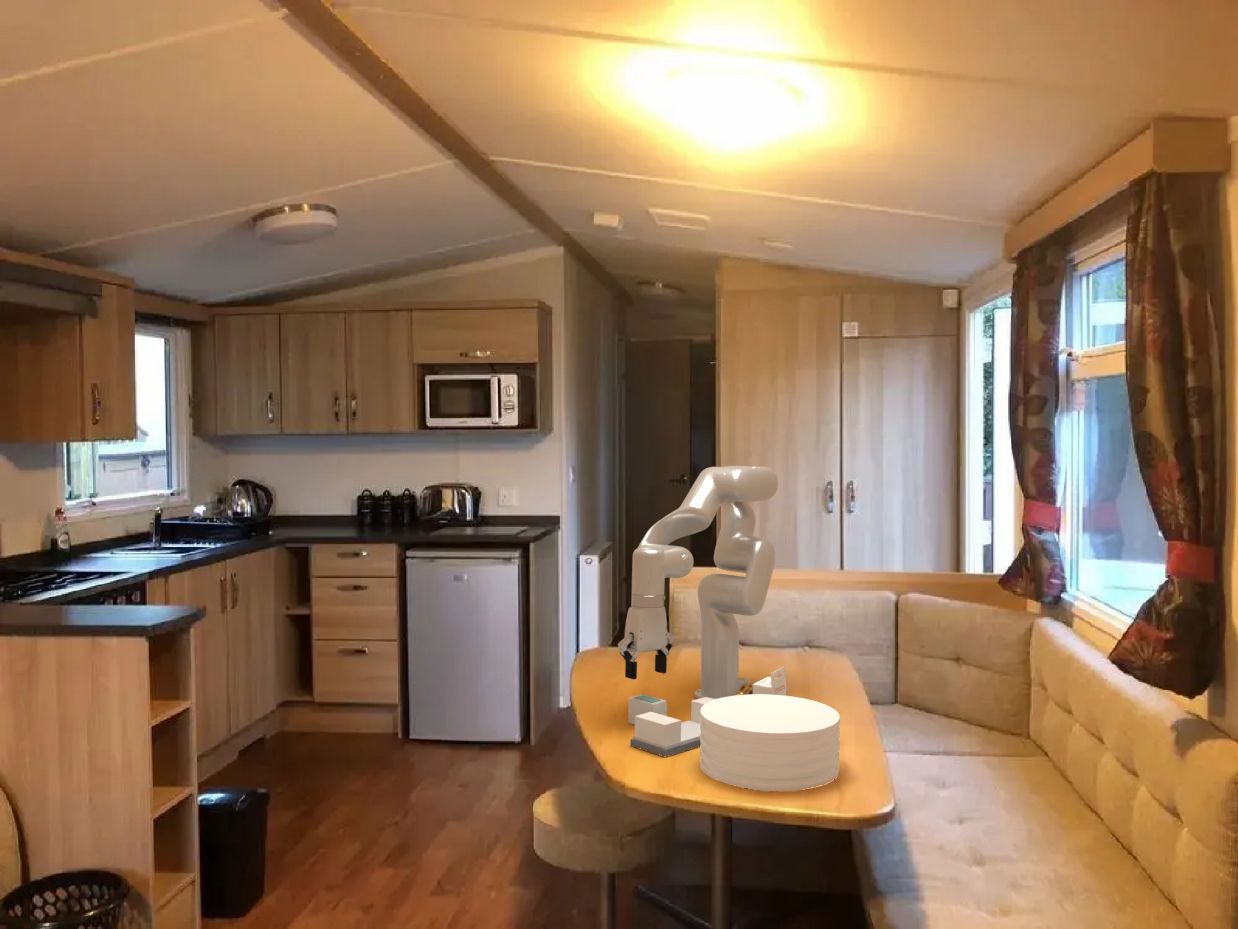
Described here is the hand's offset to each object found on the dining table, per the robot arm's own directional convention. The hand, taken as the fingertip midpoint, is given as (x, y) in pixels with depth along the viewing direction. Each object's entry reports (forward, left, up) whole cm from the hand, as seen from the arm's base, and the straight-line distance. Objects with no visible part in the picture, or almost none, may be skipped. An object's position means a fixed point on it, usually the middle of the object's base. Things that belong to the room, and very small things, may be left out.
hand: (645, 675), depth 236 cm
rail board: (+1, +14, -12) cm, 18 cm away
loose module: (-1, 0, -12) cm, 12 cm away
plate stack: (+2, +37, -12) cm, 39 cm away
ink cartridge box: (-17, +23, -12) cm, 31 cm away
